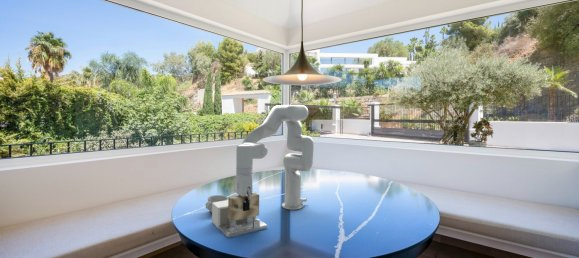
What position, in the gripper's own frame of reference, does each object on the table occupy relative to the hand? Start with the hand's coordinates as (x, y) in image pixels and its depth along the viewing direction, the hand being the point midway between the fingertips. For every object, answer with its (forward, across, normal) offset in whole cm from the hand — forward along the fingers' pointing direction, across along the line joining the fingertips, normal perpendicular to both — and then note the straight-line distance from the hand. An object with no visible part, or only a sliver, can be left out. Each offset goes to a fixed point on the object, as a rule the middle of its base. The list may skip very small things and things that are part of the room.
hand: (244, 208), depth 134 cm
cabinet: (+10, -12, 0) cm, 16 cm away
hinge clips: (+10, -2, 0) cm, 10 cm away
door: (+4, 0, 0) cm, 4 cm away
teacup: (+10, -29, -4) cm, 31 cm away
